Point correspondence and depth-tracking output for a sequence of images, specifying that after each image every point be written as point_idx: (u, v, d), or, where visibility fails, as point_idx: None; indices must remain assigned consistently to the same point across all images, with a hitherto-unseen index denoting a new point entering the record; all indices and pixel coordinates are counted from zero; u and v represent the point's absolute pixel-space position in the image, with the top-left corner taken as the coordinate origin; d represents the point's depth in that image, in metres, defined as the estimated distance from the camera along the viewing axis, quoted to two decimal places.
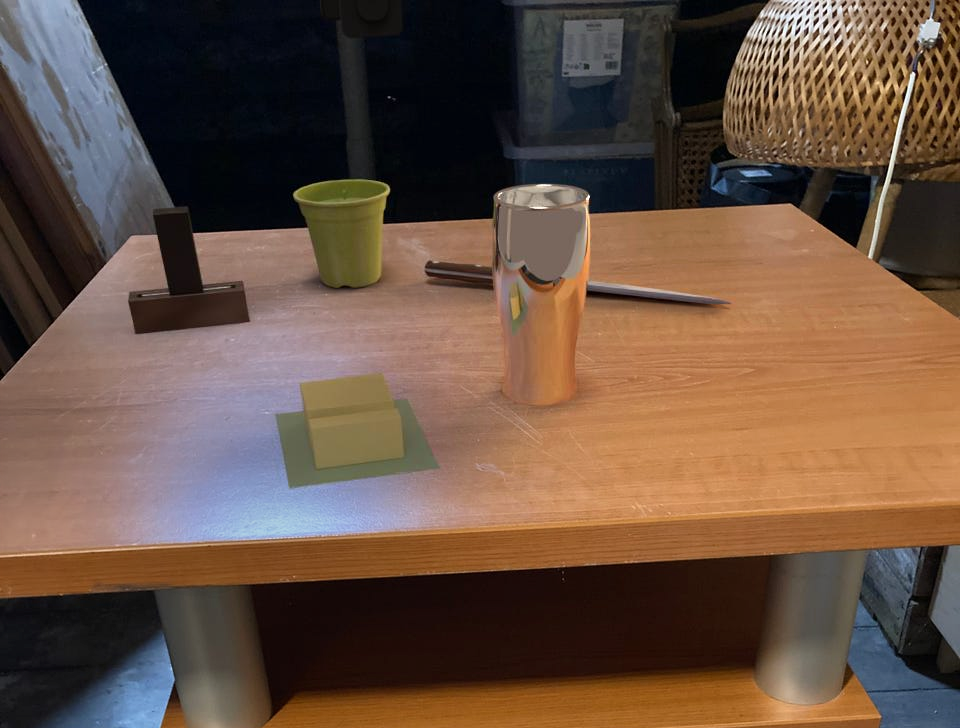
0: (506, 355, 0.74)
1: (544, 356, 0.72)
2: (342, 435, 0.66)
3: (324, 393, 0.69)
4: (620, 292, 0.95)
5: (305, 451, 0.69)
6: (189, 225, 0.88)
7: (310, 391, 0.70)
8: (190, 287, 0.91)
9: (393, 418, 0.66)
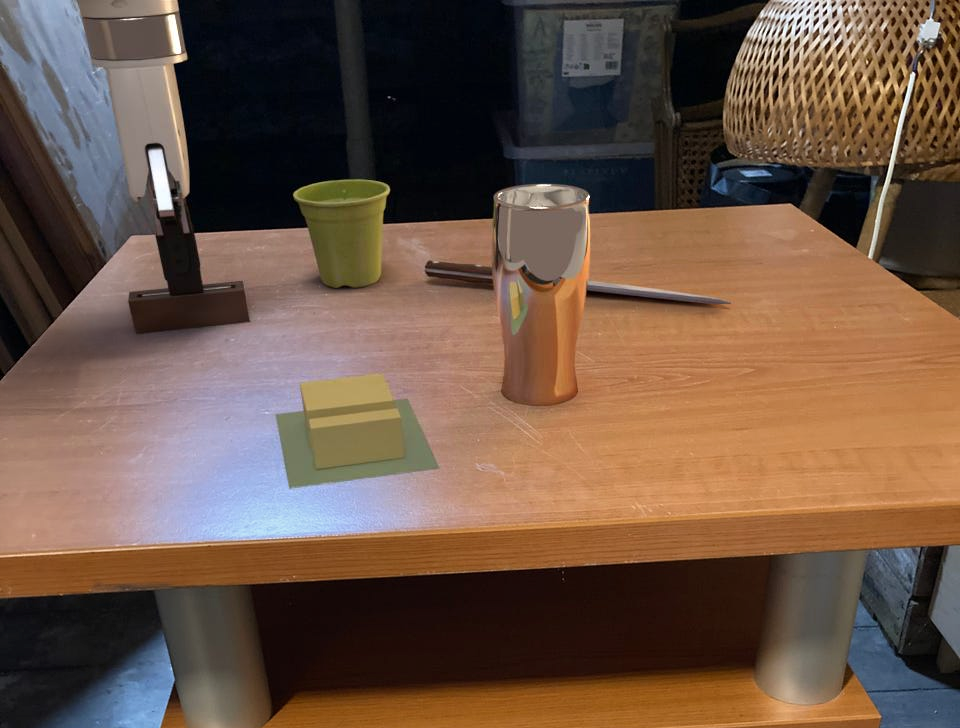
0: (506, 355, 0.74)
1: (544, 356, 0.72)
2: (342, 435, 0.66)
3: (324, 393, 0.69)
4: (620, 292, 0.95)
5: (305, 451, 0.69)
6: (189, 225, 0.88)
7: (310, 391, 0.70)
8: (190, 287, 0.91)
9: (393, 418, 0.66)
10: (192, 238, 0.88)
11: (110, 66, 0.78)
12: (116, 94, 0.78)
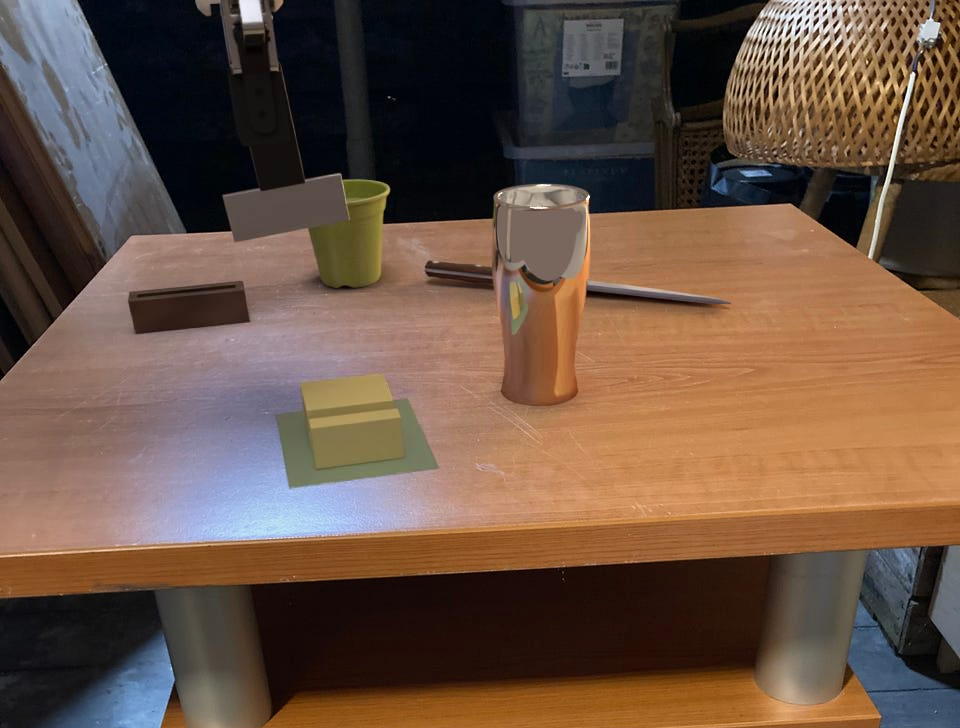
0: (506, 355, 0.74)
1: (544, 356, 0.72)
2: (342, 435, 0.66)
3: (324, 393, 0.69)
4: (620, 292, 0.95)
5: (305, 451, 0.69)
6: None
7: (310, 391, 0.70)
8: (288, 177, 0.65)
9: (393, 418, 0.66)
10: (281, 80, 0.61)
11: None
12: None
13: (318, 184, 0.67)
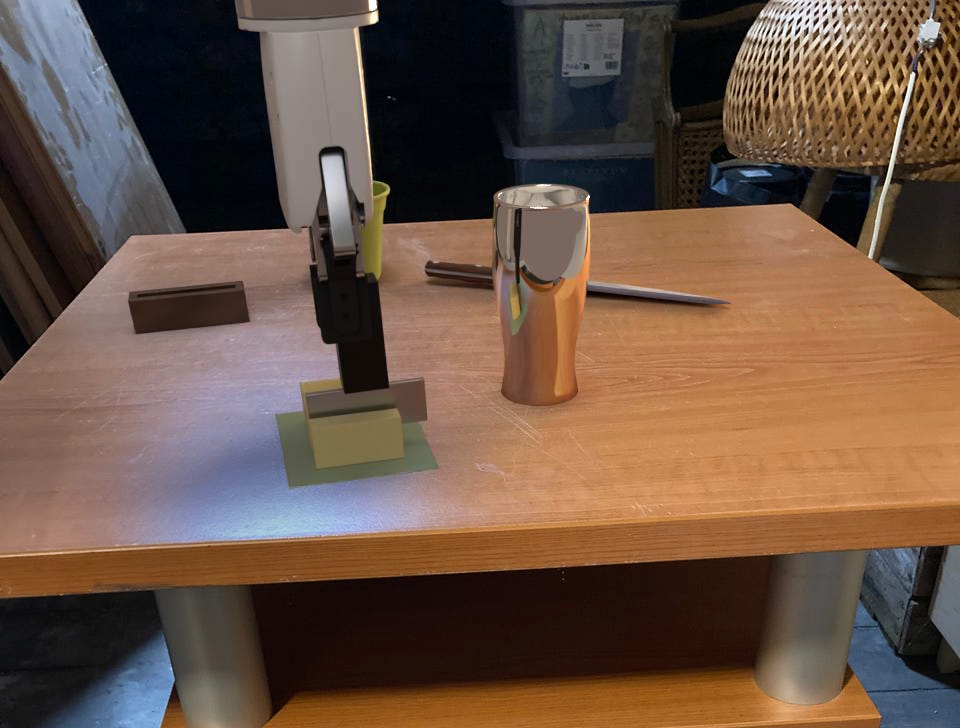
0: (506, 355, 0.74)
1: (544, 356, 0.72)
2: (342, 435, 0.66)
3: None
4: (620, 292, 0.95)
5: (305, 451, 0.69)
6: (378, 300, 0.62)
7: (310, 391, 0.70)
8: (372, 383, 0.65)
9: (393, 418, 0.66)
10: (365, 283, 0.61)
11: (273, 29, 0.51)
12: (282, 72, 0.51)
13: (401, 387, 0.67)
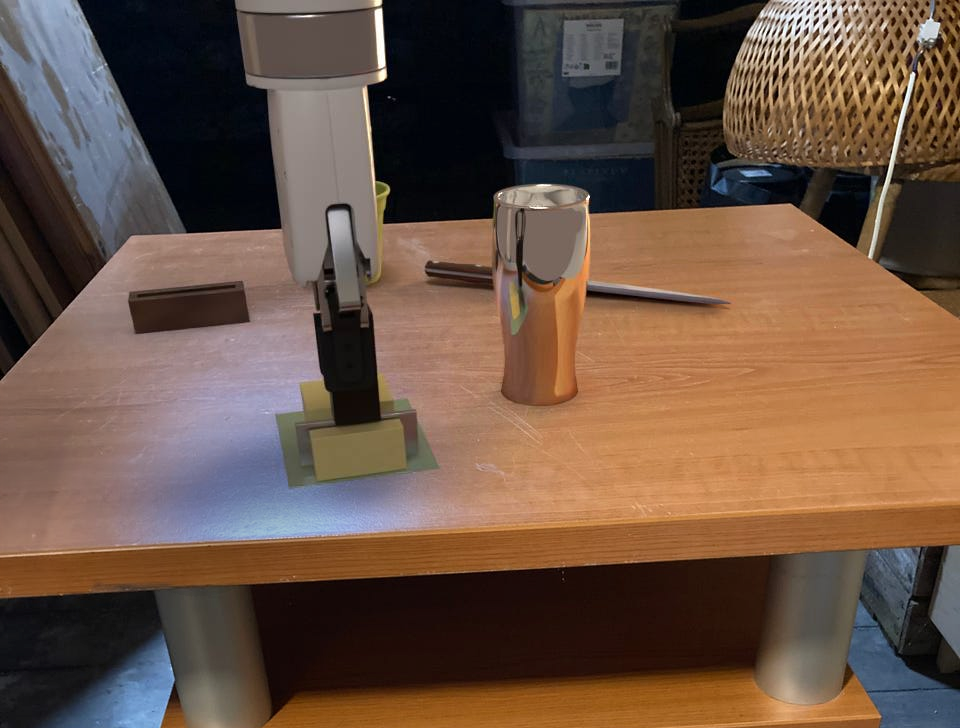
0: (506, 355, 0.74)
1: (544, 356, 0.72)
2: (343, 446, 0.64)
3: (324, 393, 0.69)
4: (620, 292, 0.95)
5: None
6: (372, 332, 0.61)
7: (310, 391, 0.70)
8: (364, 414, 0.64)
9: (395, 428, 0.65)
10: (369, 333, 0.61)
11: (281, 87, 0.51)
12: (290, 131, 0.51)
13: None
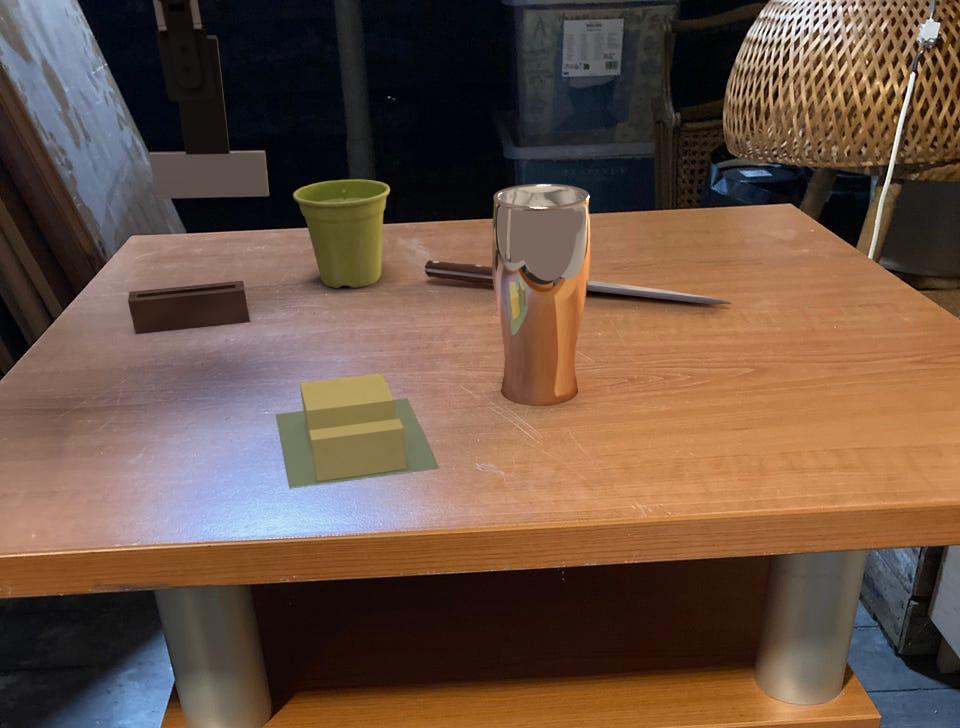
0: (506, 355, 0.74)
1: (544, 356, 0.72)
2: (343, 447, 0.64)
3: (324, 393, 0.69)
4: (620, 292, 0.95)
5: (305, 451, 0.69)
6: (218, 58, 0.67)
7: (310, 391, 0.70)
8: (213, 146, 0.70)
9: (395, 429, 0.65)
10: (205, 38, 0.65)
11: None
12: None
13: (243, 157, 0.71)
